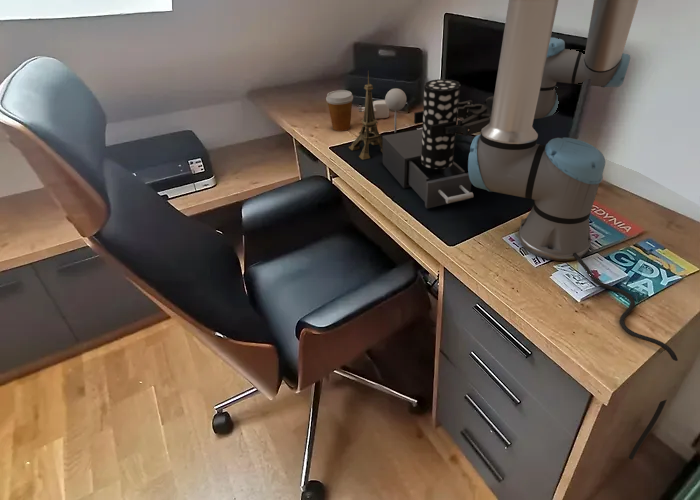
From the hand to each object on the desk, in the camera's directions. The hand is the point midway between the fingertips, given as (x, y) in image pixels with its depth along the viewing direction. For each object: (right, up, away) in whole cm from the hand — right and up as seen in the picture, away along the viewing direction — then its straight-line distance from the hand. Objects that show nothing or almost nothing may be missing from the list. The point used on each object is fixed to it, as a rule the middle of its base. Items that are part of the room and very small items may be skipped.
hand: (422, 124), depth 113 cm
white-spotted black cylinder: (+5, -8, +8) cm, 12 cm away
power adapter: (-9, +19, +59) cm, 63 cm away
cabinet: (+1, -7, +24) cm, 25 cm away
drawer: (+6, -16, +10) cm, 20 cm away
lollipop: (-2, +10, +47) cm, 48 cm away
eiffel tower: (-11, +2, +37) cm, 38 cm away
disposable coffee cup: (-21, +13, +53) cm, 58 cm away
